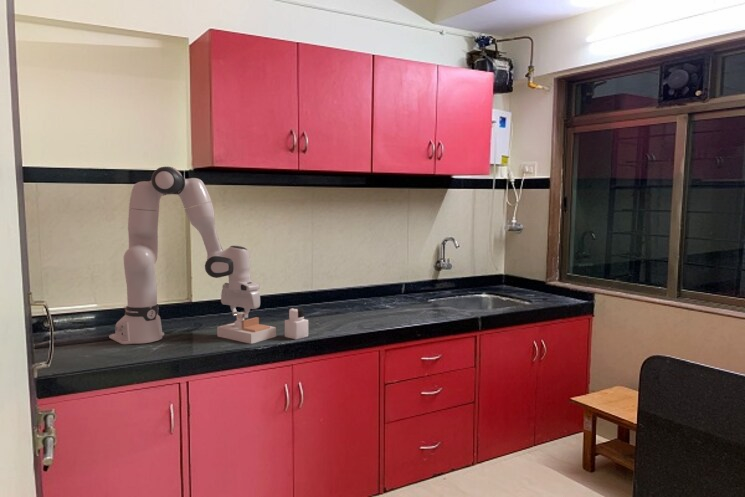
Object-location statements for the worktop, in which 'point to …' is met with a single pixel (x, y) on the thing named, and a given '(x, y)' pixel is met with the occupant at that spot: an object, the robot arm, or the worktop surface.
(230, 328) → the white tray
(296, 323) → the white stepped block
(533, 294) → the worktop surface
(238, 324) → the salt shaker
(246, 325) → the orange l-shaped bracket
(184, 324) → the worktop surface
